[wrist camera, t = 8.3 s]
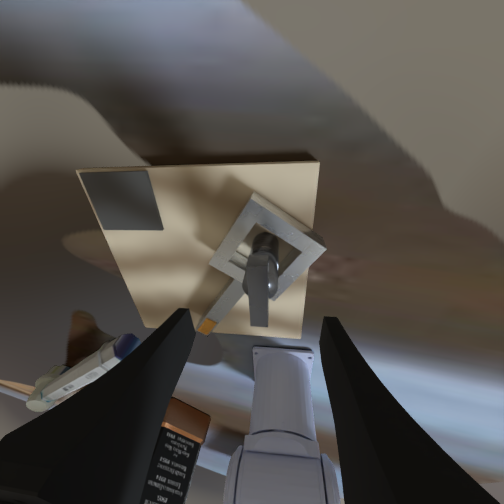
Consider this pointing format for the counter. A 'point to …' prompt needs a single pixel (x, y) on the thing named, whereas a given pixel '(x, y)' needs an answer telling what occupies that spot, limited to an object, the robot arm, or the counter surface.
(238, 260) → the hollow square frame
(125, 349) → the pale grey bent bar
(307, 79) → the counter surface
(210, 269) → the workboard
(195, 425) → the whiskey bottle
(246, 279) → the hammer
